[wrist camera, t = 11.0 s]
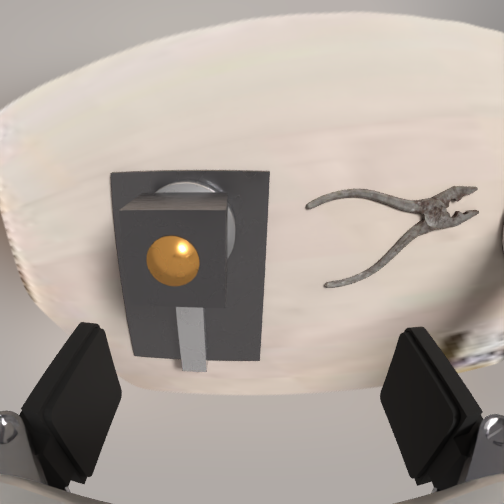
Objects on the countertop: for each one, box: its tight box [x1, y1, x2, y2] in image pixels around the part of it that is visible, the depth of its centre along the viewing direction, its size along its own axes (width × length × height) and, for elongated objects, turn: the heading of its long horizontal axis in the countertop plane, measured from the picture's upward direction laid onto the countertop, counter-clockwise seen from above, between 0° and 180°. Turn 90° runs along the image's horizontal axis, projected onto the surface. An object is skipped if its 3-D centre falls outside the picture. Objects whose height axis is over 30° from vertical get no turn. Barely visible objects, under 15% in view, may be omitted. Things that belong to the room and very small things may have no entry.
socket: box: [119, 192, 228, 308], centre depth 24 cm, size 7×7×6 cm
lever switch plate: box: [111, 170, 270, 372], centre depth 28 cm, size 14×20×6 cm
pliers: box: [306, 186, 479, 288], centre depth 29 cm, size 10×1×20 cm
